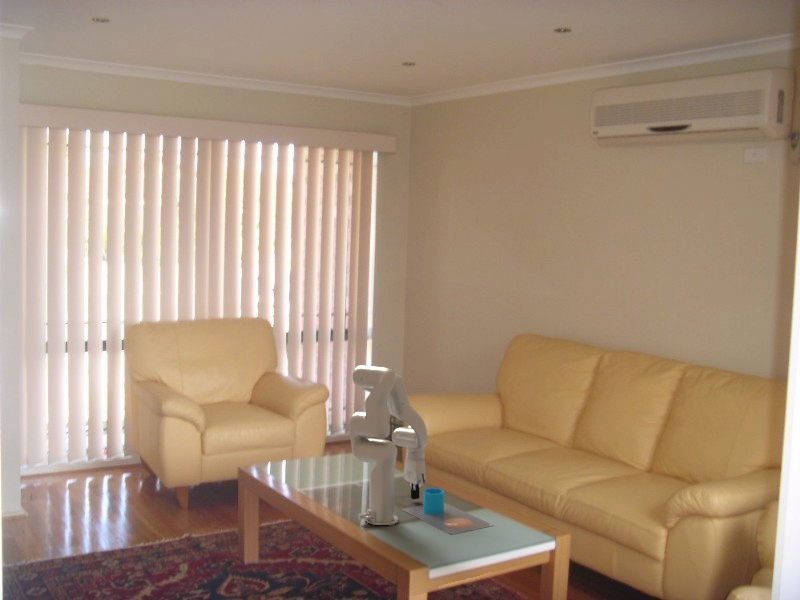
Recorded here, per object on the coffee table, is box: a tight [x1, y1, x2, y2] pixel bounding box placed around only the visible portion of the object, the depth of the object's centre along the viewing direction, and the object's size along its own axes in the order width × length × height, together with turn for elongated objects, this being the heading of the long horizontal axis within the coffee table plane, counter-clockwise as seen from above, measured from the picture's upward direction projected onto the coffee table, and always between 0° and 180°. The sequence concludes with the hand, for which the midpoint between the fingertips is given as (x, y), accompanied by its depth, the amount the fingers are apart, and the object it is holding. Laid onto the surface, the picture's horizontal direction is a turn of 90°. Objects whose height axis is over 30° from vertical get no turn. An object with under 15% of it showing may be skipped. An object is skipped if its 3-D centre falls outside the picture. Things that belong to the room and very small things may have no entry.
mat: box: [400, 502, 491, 536], centre depth 334 cm, size 20×34×1 cm, turn 33°
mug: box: [422, 487, 445, 515], centre depth 342 cm, size 12×8×8 cm
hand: (415, 498), depth 352 cm, fingers closed
